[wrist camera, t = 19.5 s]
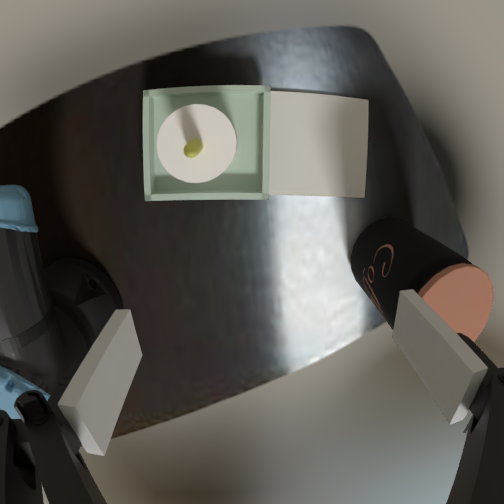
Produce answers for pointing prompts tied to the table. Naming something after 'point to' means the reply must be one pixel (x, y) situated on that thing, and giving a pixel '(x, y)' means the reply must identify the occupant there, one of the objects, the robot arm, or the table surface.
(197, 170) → the candle
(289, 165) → the board
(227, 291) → the table surface
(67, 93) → the table surface
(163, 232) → the table surface
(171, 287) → the table surface
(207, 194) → the mint green tray
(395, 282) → the coffee jar
